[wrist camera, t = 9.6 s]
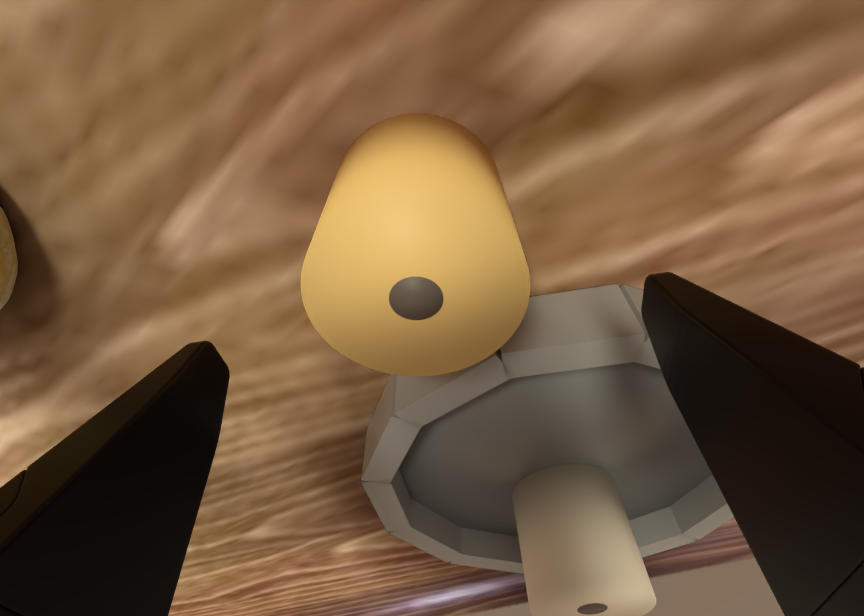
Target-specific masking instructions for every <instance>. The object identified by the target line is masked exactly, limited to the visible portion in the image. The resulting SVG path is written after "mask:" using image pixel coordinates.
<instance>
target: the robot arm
mask: <svg viewBox="0 0 864 616" xmlns="http://www.w3.org/2000/svg"><path fill="white" fill-rule="evenodd" d="M641 314H642V319H643V322H644V325H645V327H646V330H647V333H648V336H649V338H650V341H651V344H652V347H653V349H654V352H655V355H656V358H657V360H658V363H659V366H660V369H661V371H662V374H663V377H664V379H665V382H666V384H667V387H668V389H669V391H670V393H671V395H672V397H673V399H674V401H675V403H676V405H677V407H678V409H679V411H680V413H681V414H682V416H683V418H684V420H685V422H686V424H687V426H688V428H689V430H690V432H691V434H692V436H693V438H694V440H695V442H696V444H697V446H698V448H699V450H700V451H701V453H702V455H703V457H704V459H705V461H706V463H707V465H708V467H709V469H710V471H711V473H712V475H713V477H714V479H715V481H716V483H717V485H718V487H719V489H720V490H721V492H722V494H723V496H724V498H725V500H726V502H727V504H728V506H729V508H730V510H731V512H732V514H733V516H734V518H735V520H736V522H737V524H738V526H739V527H740V529H741V531H742V533H743V535H744V537H745V539H746V541H747V543H748V545H749V547H750V549H751V551H752V553H753V555H754V557H755V559H756V561H757V562H758V565H759V566H760V568H761V570H762V572H763V574H764V576H765V578H766V580H767V582H768V584H769V586H770V588H771V590H772V592H773V594H774V596H775V597H776V600H777V602H778V603H779V605H780V607H781V609H782V611H783V613H784V615H785V616H864V367H862V368H860V365H859V364H857V363H855V362H853V361H851V360H849V359H847V358H845V357H843V356H841V355H839V354H837V353H835V352H833V351H831V350H829V349H826V348H824V347H822V346H820V345H818V344H816V343H814V342H812V341H810V340H808V339H806V338H804V337H802V336H800V335H798V334H796V333H794V332H792V331H790V330H788V329H786V328H784V327H782V326H780V325H777V324H775V323H773V322H771V321H769V320H767V319H765V318H763V317H761V316H759V315H757V314H755V313H753V312H751V311H749V310H747V309H745V308H743V307H741V306H739V305H737V304H735V303H733V302H731V301H728V300H726V299H724V298H722V297H720V296H718V295H716V294H714V293H712V292H710V291H708V290H706V289H704V288H702V287H700V286H698V285H696V284H694V283H692V282H690V281H688V280H686V279H684V278H681V277H679V276H677V275H675V274H673V273H671V272H664V273H657V274H651V275H649V276H647V277H646V279H645V283H644V291H643V298H642V305H641ZM228 383H229V369H228V366H227V365H226V363H225V362H224V360H223V359H222V357H221V356H220V354H219V353H218V351H217V350H216V348H215V347H214V345H213V344H212V343H211V342H209V341H200V342H194V343H190V344H188V345H186V346H185V347H183V348H182V349H181V350H179V351H178V352H177V353H176V354H174V355H173V356H172V357H170V358H169V359H168V360H166V361H165V362H164V363H163V364H161V365H160V366H159V367H157V368H156V369H155V370H153V371H152V372H151V373H150V374H148V375H147V376H146V377H144V378H143V379H142V380H140V381H139V382H138V383H137V384H135V385H134V386H133V387H131V388H130V389H129V390H127V391H126V392H125V393H123V394H122V395H121V396H120V397H118V398H117V399H116V400H114V401H113V402H112V403H110V404H109V405H108V406H107V407H105V408H104V409H103V410H101V411H100V412H99V413H97V414H96V415H95V416H94V417H92V418H91V419H90V420H88V421H87V422H86V423H84V424H83V425H82V426H80V427H79V428H78V429H77V430H75V431H74V432H73V433H71V434H70V435H69V436H67V437H66V438H65V439H64V440H62V441H61V442H60V443H58V444H57V445H56V446H54V447H53V448H52V449H51V450H49V451H48V452H47V453H45V454H44V455H43V456H41V457H40V458H39V459H38V460H36V461H35V462H34V463H32V464H31V465H30V466H28V468H27V470H23V471H22V472H20V473H19V474H18V475H16V476H15V477H14V478H13V479H11V480H10V481H9V482H7V483H6V484H5V485H4V486H2V487H1V488H0V616H168V614H169V610H170V607H171V603H172V600H173V596H174V593H175V590H176V586H177V583H178V579H179V576H180V572H181V569H182V565H183V562H184V558H185V555H186V551H187V548H188V545H189V541H190V538H191V534H192V531H193V527H194V524H195V520H196V517H197V513H198V510H199V506H200V503H201V500H202V496H203V493H204V489H205V486H206V482H207V479H208V475H209V472H210V468H211V465H212V461H213V458H214V455H215V451H216V447H217V443H218V439H219V434H220V430H221V424H222V418H223V412H224V406H225V401H226V395H227V389H228Z"/></svg>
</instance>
